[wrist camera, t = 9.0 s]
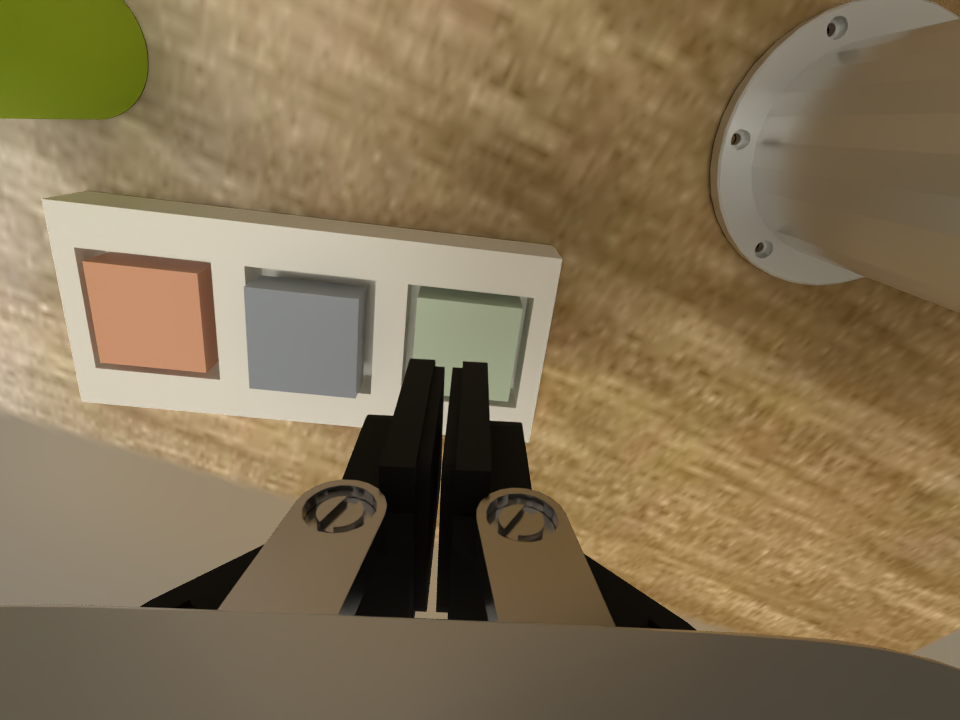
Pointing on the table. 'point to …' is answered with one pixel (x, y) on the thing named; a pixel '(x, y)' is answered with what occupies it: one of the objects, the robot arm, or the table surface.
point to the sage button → (469, 333)
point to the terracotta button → (152, 311)
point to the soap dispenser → (69, 59)
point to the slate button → (305, 336)
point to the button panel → (297, 255)
